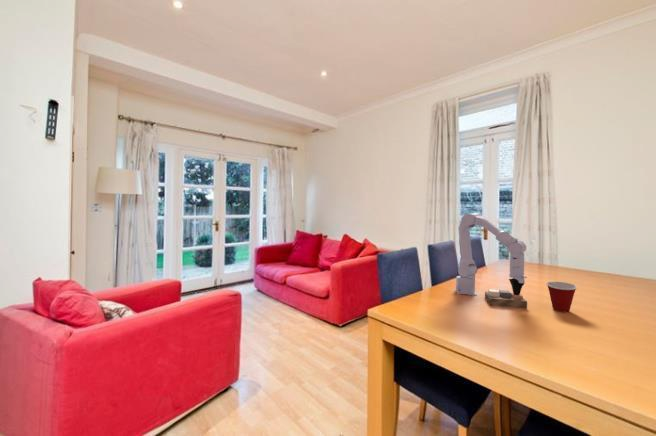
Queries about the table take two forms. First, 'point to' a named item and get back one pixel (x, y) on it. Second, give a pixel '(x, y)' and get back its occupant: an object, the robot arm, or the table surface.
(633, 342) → the table surface
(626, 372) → the table surface
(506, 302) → the key box
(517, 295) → the terracotta key
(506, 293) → the charcoal key
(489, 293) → the ivory key
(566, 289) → the plastic cup
